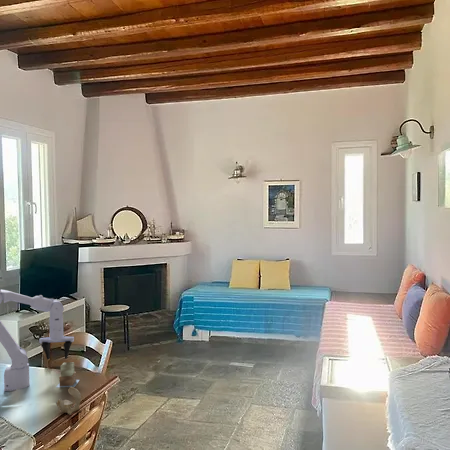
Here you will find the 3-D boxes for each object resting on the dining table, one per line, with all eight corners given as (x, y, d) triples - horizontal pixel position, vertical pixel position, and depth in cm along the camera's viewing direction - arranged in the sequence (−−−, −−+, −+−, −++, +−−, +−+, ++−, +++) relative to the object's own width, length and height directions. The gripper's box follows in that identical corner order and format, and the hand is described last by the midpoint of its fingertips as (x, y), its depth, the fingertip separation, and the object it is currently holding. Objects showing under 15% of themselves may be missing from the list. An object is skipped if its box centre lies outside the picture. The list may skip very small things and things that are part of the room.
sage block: (60, 376, 192) (60, 366, 192) (63, 372, 197) (63, 362, 197) (71, 376, 193) (71, 365, 193) (74, 372, 197) (74, 362, 197)
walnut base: (59, 386, 192) (59, 376, 192) (63, 381, 198) (63, 372, 198) (72, 385, 193) (72, 376, 192) (76, 380, 198) (75, 371, 198)
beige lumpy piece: (54, 415, 162) (57, 386, 167) (55, 417, 167) (58, 389, 172) (79, 413, 164) (81, 384, 169) (79, 416, 170) (81, 388, 175)
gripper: (36, 330, 196) (37, 362, 196) (70, 329, 197) (71, 360, 197) (42, 326, 203) (43, 357, 203) (75, 325, 204) (75, 355, 204)
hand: (57, 358), depth 200 cm, fingers open, 7 cm apart
